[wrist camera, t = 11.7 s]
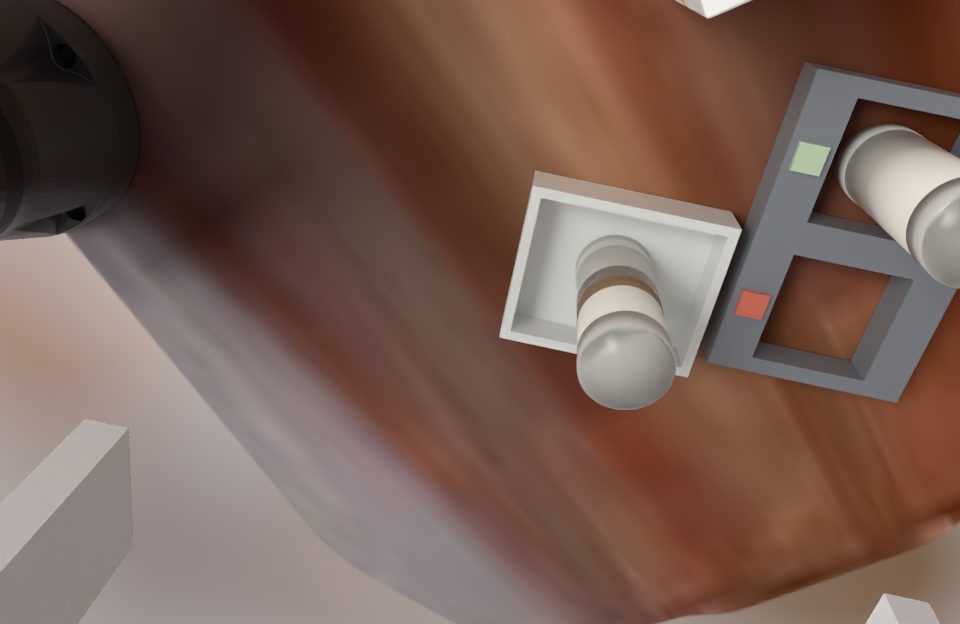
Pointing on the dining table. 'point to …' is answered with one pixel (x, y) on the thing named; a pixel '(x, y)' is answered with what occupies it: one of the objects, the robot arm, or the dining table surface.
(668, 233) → the parts tray
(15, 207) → the robot arm
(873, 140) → the fuse
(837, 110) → the fuse panel
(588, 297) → the fuse
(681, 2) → the grey stepped block
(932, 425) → the dining table surface
